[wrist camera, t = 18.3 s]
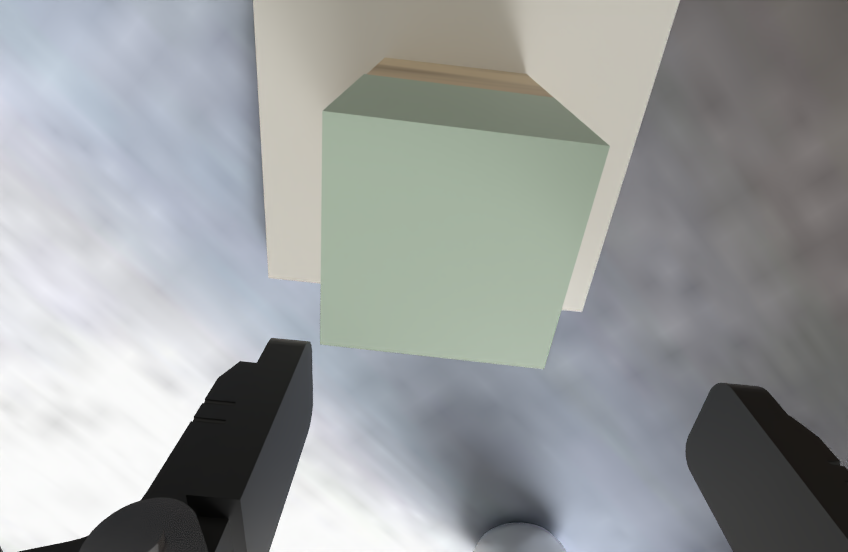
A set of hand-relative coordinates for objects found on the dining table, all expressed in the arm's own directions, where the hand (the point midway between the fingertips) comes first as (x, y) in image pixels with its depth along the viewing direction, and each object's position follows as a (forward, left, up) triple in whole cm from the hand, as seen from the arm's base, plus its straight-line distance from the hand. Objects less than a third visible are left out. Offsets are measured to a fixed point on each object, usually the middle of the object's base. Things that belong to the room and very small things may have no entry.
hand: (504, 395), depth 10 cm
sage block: (+2, +2, -6) cm, 7 cm away
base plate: (+2, +1, -13) cm, 13 cm away
